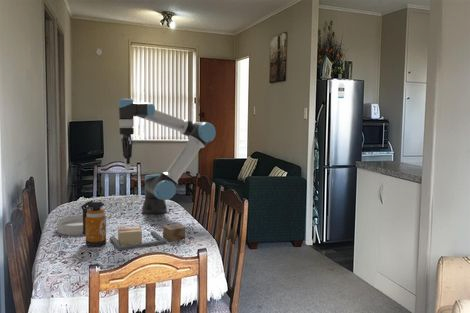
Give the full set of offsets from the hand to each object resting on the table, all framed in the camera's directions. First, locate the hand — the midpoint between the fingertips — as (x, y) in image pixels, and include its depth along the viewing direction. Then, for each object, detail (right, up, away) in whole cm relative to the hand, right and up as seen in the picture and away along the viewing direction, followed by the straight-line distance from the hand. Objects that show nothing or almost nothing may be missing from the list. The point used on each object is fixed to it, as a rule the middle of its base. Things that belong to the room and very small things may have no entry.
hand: (127, 169), depth 224 cm
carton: (+10, -33, -34) cm, 49 cm away
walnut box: (+30, -33, -28) cm, 53 cm away
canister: (-5, -33, -38) cm, 51 cm away
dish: (-21, -31, -15) cm, 40 cm away
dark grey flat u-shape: (+14, -33, -34) cm, 49 cm away
